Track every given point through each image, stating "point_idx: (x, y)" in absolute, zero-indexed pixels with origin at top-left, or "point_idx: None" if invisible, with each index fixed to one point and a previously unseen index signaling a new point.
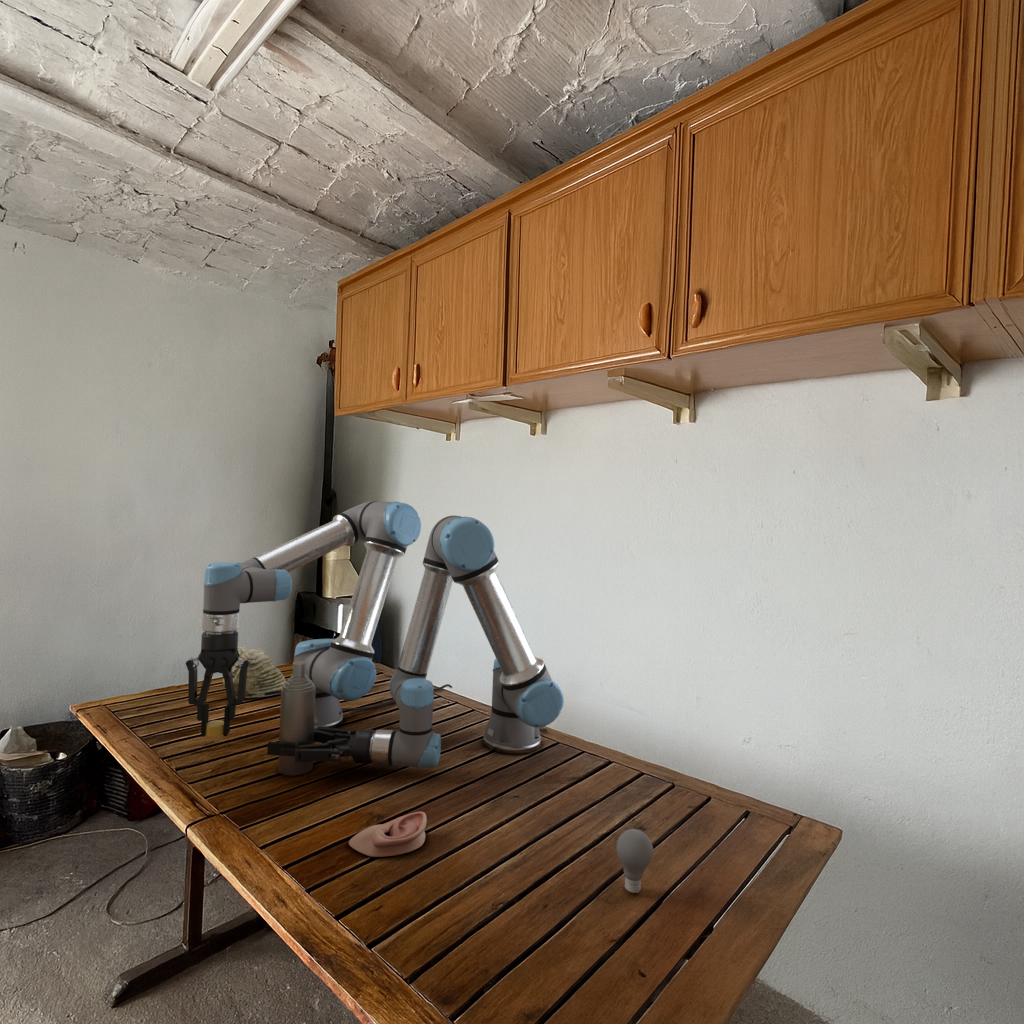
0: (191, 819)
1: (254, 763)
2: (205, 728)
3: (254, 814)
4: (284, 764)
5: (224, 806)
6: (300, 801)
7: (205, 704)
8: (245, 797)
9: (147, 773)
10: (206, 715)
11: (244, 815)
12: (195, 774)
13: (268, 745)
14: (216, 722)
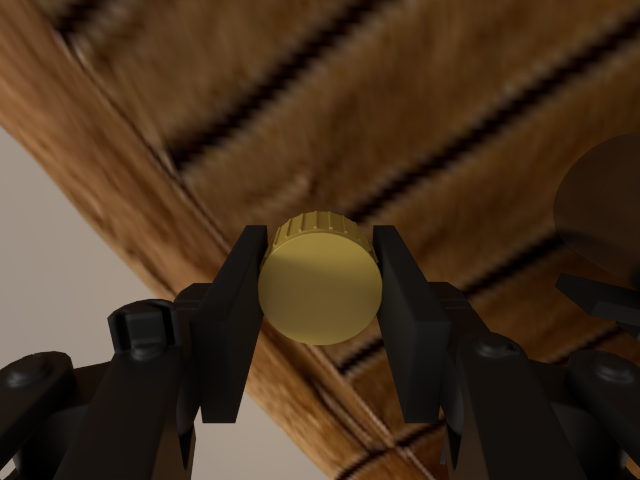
0: (335, 462)
1: (462, 131)
2: None
3: None
4: (597, 265)
5: (401, 418)
6: None
7: (195, 338)
8: None
9: (84, 188)
10: (247, 337)
11: None
12: (260, 213)
13: (585, 309)
14: (319, 276)
